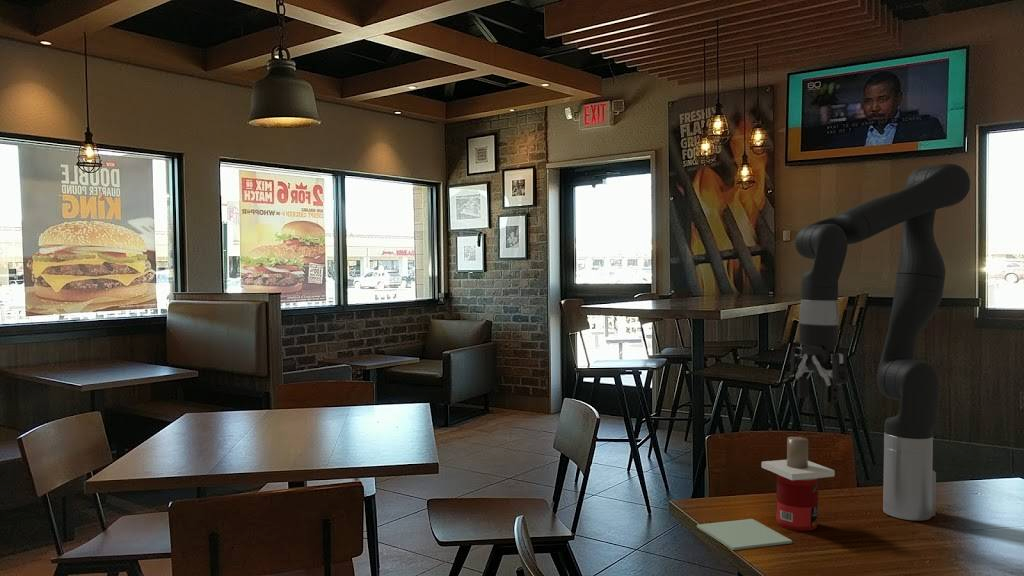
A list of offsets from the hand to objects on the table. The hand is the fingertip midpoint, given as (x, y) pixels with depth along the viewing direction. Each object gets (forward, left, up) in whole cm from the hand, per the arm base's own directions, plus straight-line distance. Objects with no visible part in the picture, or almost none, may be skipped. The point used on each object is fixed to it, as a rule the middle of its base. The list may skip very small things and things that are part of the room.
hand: (816, 400), depth 155 cm
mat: (+18, +2, -26) cm, 31 cm away
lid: (+4, 0, -15) cm, 15 cm away
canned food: (+4, 0, -26) cm, 26 cm away
